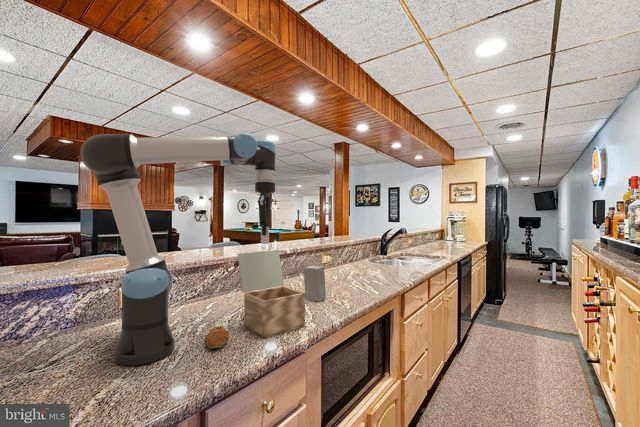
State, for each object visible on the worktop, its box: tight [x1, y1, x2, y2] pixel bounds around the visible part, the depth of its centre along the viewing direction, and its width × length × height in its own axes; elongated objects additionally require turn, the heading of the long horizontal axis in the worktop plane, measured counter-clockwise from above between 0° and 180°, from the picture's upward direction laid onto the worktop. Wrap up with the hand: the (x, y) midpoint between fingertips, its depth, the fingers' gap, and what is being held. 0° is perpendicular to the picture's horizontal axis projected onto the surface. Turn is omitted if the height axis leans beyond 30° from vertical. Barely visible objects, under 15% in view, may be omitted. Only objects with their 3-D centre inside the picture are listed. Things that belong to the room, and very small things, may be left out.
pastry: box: [205, 326, 229, 349], centre depth 92 cm, size 9×7×4 cm
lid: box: [237, 249, 285, 293], centre depth 115 cm, size 18×14×2 cm
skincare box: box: [303, 265, 327, 302], centre depth 142 cm, size 8×7×16 cm
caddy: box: [243, 285, 306, 340], centre depth 108 cm, size 17×14×12 cm
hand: (264, 243), depth 114 cm, fingers closed
